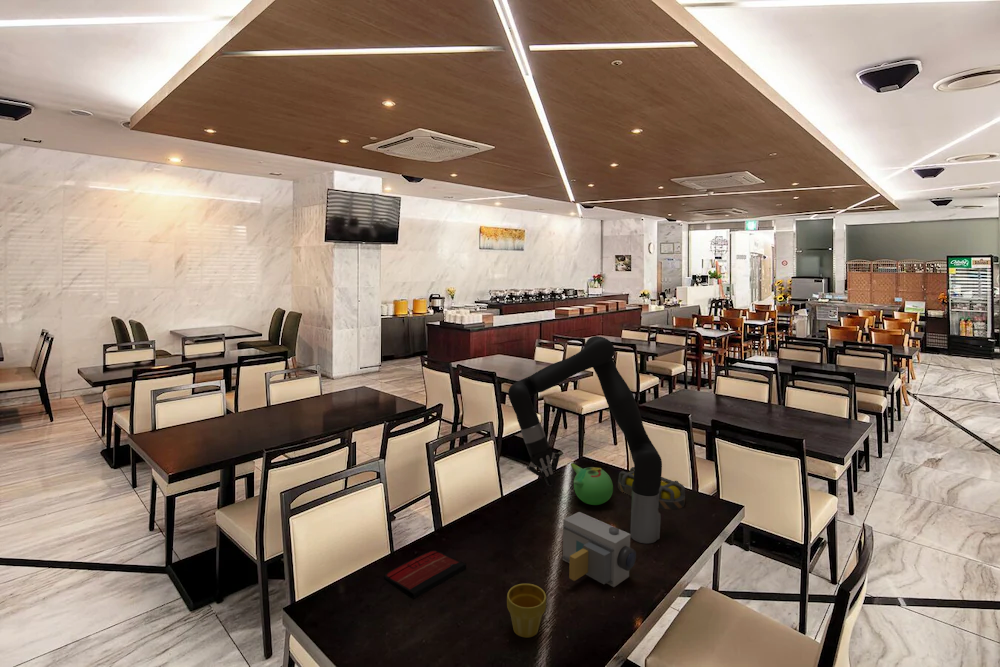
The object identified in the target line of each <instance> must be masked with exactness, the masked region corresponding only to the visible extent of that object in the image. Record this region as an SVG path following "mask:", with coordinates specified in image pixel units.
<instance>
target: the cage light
mask: <svg viewBox="0 0 1000 667" xmlns="http://www.w3.org/2000/svg"><path fill="white" fill-rule="evenodd" d="M633 481H634V466H632V467H630V468H629V472H627V471H624V470H623V471H621V470H620V472H619V474H618V479H617V488H618V489H617V490H619V491H620V492H621V493H623V492H624V493H623V494H625V493H626V494H625V495H627V494H628V496H629V495H630V496H629V497H632V482H633ZM685 503H686V488H685V486H684V485H683V484H681V483H679V481H678V480H671V479H668V478H666V477H663V476H661V486H660V488H659V506H658V509H663V510H679V509H682V508H684V507H685Z"/></svg>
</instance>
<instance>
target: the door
mask: <svg viewBox="0 0 1000 667" xmlns="http://www.w3.org/2000/svg"><path fill="white" fill-rule="evenodd" d="M568 564H569V568H568V569H569V570H568V574H569V575H568V578H569V579H570V580H572V581H573V582H575V581H577V580H579V579H580V578H581V577H584V576H585V575H586V576H587V577H589V578H591V579H593V580H595V581H596V582H598V583H601V584H603V585H605V584H607V582H608V581H610V577H611V552H610V551H608V550H606V549H604V548H602V547H600V546H598V545H596V544H594V543H592V542H588V543H586V544H585V545H583V549H581V550H579V551H578V552H576V553H574V554H572V555H571V556H570V562H569V563H568Z"/></svg>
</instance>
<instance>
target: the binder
mask: <svg viewBox="0 0 1000 667" xmlns="http://www.w3.org/2000/svg"><path fill="white" fill-rule="evenodd" d="M464 570H467V563H466V562H462V560H461V561H460V560H458V559H456V558H454V557H451V556H449V555H447V554H445V553H444V552H441V551H438V550H434V549H433V550H429V551H428V552H425V553H423V554H421V555H418V556H415V557H414V558H411V559H410V560H408V561H406V562H404V563H402V564H400V565H399V566H396V567H395V568H393V569H391V570H389V571H387V572H386V573H385V574H384V580H386V581H387V582H389V583H390V584H391V585H393V586H395V588H397V589H398V590H400V591H401V592H403V593H404V594H408V593H411V594H412V595H413V599H414V600H415V599H417V598H418V597H420V596H422V595H424V594H425V593H427V592H429V591H430V590H432V589H434V588H436V587H437V586H439V585H440V584H442V583H444V582H446V581H447V580H449V579H451V578H453V577H454V576H457V575H458V574H460V573H462V572H463V571H464Z"/></svg>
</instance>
